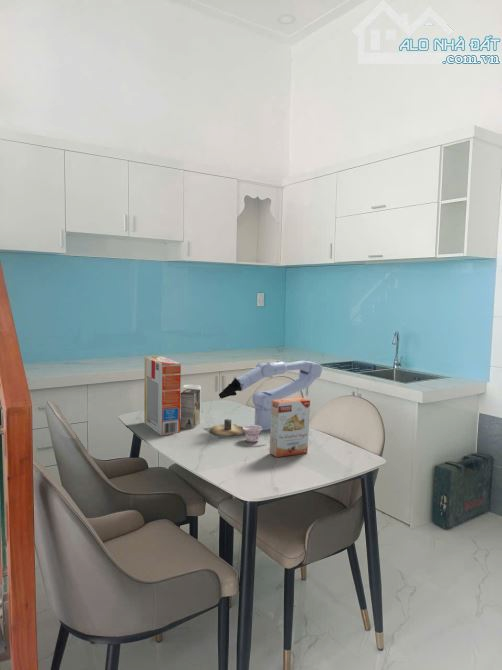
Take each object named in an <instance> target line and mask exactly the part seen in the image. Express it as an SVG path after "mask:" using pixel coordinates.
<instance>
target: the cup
mask: <svg viewBox="0 0 502 670" xmlns="http://www.w3.org/2000/svg"><path fill="white" fill-rule="evenodd" d="M187 389H195V390H200V413H201V412H202V411H201V409H202V407H201V405H202V404H201V402H202V401H201V399H202V398H201V397H202V386H201V385H199V384H184V385H183V387H182V392H183V391H185V390H187Z"/></svg>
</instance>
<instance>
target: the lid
mask: <svg viewBox="0 0 502 670" xmlns="http://www.w3.org/2000/svg"><path fill="white" fill-rule="evenodd" d="M223 423H224V424H216V425H214V426H211V427H210V428H211V429H210V432H211V433H213V434H215V435H220V436H234V437H238V436H237V435H241V434H243V433H245V431H244V430H243V427H244V426H241V425H237V424H236V425H234V424H232V419H229V418H225V419H224V422H223ZM211 433H210V434H211ZM213 434H212V435H213ZM241 436H242V435H241Z"/></svg>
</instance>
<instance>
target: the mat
mask: <svg viewBox="0 0 502 670" xmlns="http://www.w3.org/2000/svg"><path fill="white" fill-rule="evenodd" d="M233 425H237V424H233ZM202 429H203V430H204V431H206V432H208V433H209V434H211V435H213V436H215V437H216V438H218V439H227V438H231V437H232V438H233V437H235V436H220V435H215V434H213V433H211V432H210V429H211V427H204V428H202ZM240 436H246V434H245V433H243V434H241V435H237V436H236V437H240Z"/></svg>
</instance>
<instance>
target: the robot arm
mask: <svg viewBox="0 0 502 670" xmlns="http://www.w3.org/2000/svg"><path fill="white" fill-rule="evenodd" d="M297 370H298V371H299V372H298V373H299V374H298V378H297V379H295V380H292V381H289V382H287V383H285V384H283V385H281V386H279V387H276V388H274V389H270V390H264V391H257V392H256V391H255V393H254V394H253V395H252V399H251V400H252V403H253V404H254V425H257V426H261V427H262V430H261V431H265V430H270V429H271V406H272V400H276V399H286V398H288V397H289V396H290V395H293V394H296V393H299V392H300V391H303V390H304V389H305V390H306V389H307V388H309V387H310V386H312V384H313V383H314V382H315V380H317V379H318V378H320V377H321V375H322V372H323V366H322V364H321V363H319V362H313V361H310V360H308V359H307V360H297V361H292V362H286V363H285V362H284V361H281V360H280V359H278V360H277V359H276V361H274V362H272V361H268V362H267V363H266V362H261V363H259V362H258V363H257V364H256V366H255V368H252V369H251V370H249V371H246V372H245V373H244V374H242V375H240V376H238V377H237V376H235V375H234V376H233V380H232V381H231V383H228V385H227V386H226V387H225V388H224V389H223V390H222V391H220V393H218V396H219V398H220V399H224V398H227V397H234V396H235V397H236V396H237V392H243V391H245V390H246V389H247V388H249V387H251V386H253V385H254V384H256V383H258V382H259V381H261V380H263V379H264V378H271V377H272V376H277V375H279V376H280V375H284V374H285V373H286V371H297Z"/></svg>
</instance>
